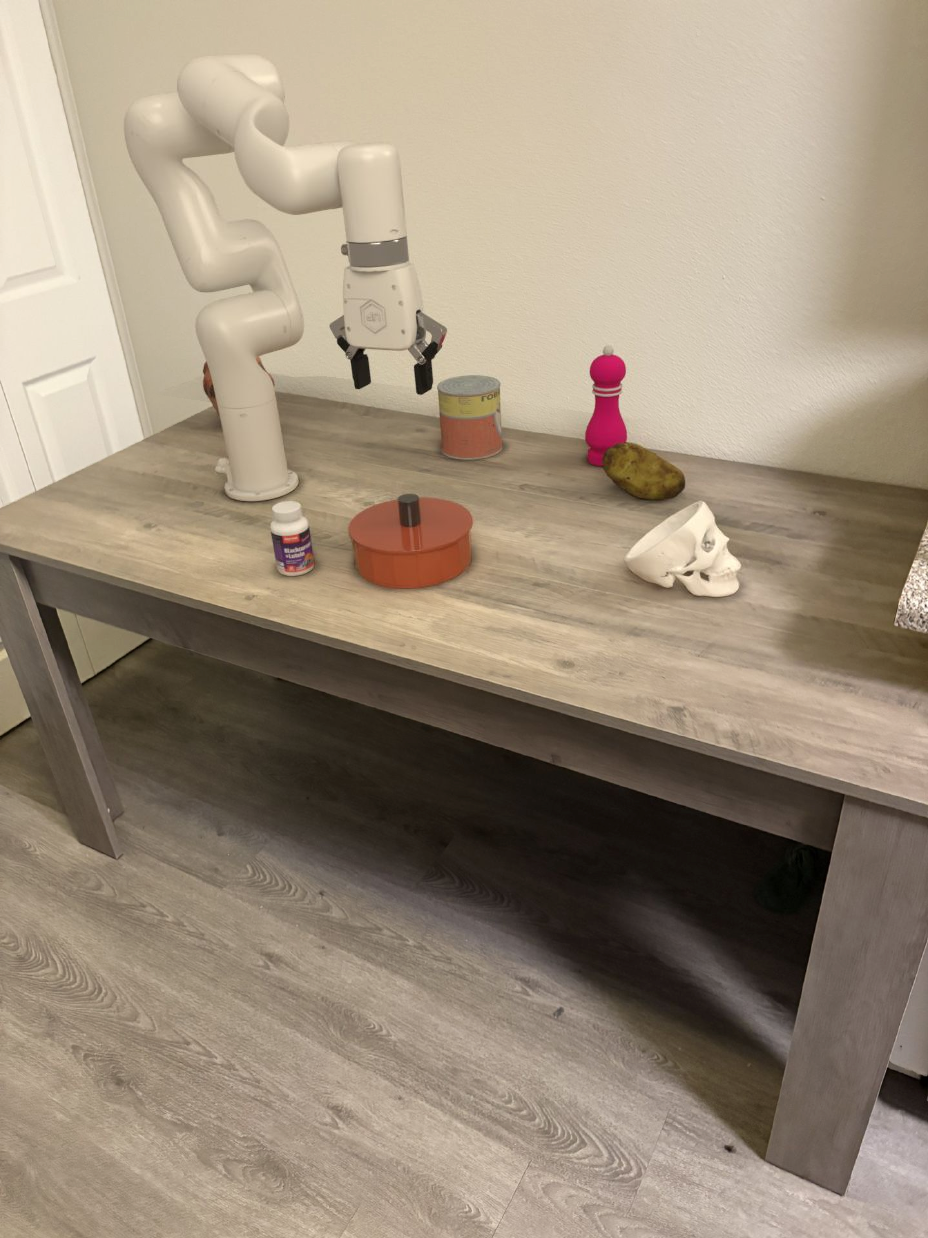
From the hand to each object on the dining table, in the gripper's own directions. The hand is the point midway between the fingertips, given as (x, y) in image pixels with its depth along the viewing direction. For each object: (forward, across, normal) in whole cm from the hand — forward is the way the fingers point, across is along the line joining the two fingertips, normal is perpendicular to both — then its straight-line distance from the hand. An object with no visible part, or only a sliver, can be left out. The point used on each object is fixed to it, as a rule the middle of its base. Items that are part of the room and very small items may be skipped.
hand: (393, 389), depth 123 cm
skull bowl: (+25, +39, +5) cm, 47 cm away
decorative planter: (+23, -62, +37) cm, 76 cm away
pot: (+24, +2, -3) cm, 24 cm away
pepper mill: (+24, +15, +43) cm, 51 cm away
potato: (+25, +25, +31) cm, 47 cm away
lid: (+19, +2, -3) cm, 19 cm away
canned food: (+24, -10, +40) cm, 48 cm away
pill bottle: (+24, -13, -11) cm, 29 cm away
